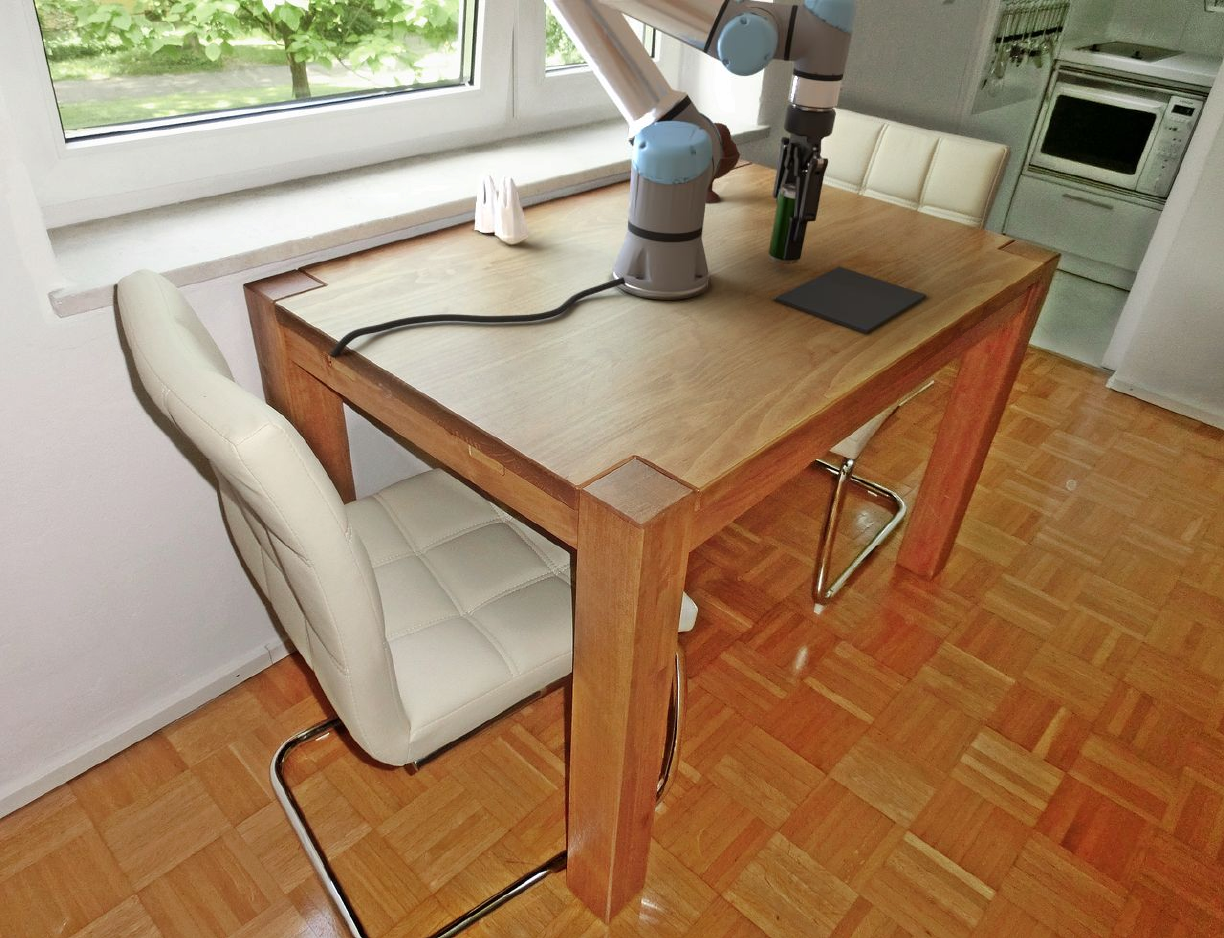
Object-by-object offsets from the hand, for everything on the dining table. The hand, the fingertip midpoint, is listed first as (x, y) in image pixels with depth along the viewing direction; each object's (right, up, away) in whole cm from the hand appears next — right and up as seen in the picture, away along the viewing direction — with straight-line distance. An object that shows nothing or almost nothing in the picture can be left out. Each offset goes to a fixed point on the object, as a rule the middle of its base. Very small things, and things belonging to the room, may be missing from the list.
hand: (785, 251), depth 150 cm
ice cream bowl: (-10, +18, +32) cm, 38 cm away
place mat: (+9, -10, -8) cm, 15 cm away
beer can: (0, -1, +1) cm, 1 cm away
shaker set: (-48, +4, +7) cm, 49 cm away
